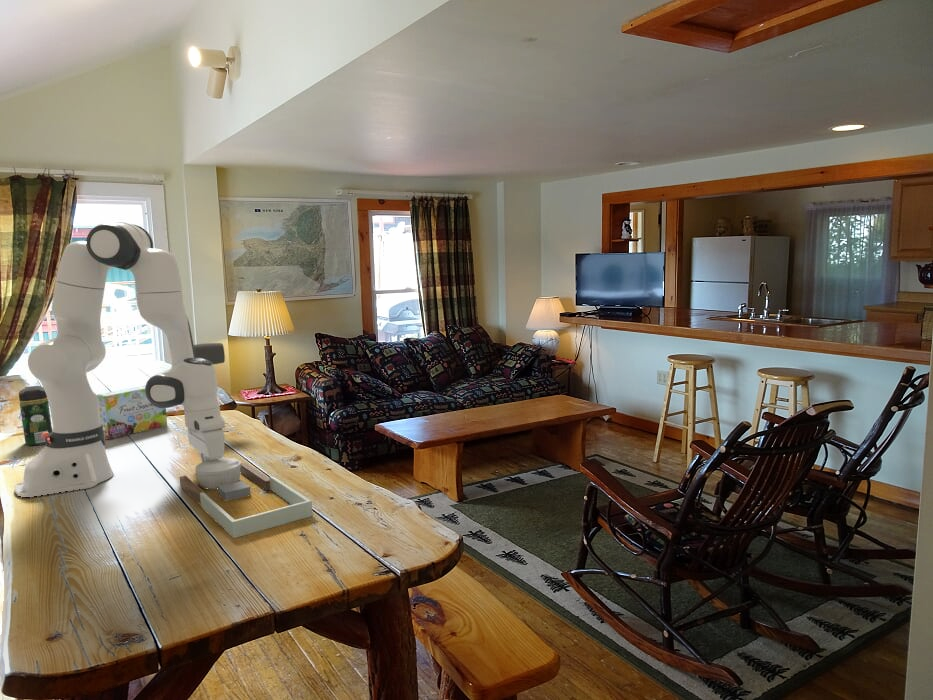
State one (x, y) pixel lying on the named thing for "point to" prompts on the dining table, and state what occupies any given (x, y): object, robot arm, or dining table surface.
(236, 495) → the slate tile
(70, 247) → the robot arm
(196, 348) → the rubber mallet
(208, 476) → the ramekin
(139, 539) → the dining table surface
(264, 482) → the runway rails
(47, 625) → the dining table surface
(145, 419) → the snack box
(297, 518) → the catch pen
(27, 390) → the coffee jar
